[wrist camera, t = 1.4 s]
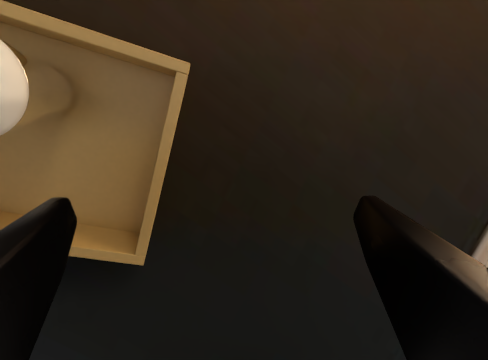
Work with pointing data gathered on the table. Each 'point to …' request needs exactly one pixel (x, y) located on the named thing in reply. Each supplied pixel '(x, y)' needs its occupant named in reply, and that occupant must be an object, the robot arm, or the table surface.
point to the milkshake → (30, 90)
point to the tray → (94, 135)
